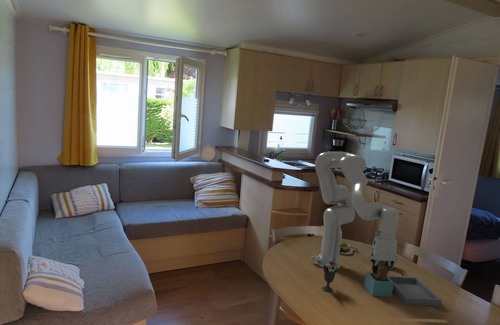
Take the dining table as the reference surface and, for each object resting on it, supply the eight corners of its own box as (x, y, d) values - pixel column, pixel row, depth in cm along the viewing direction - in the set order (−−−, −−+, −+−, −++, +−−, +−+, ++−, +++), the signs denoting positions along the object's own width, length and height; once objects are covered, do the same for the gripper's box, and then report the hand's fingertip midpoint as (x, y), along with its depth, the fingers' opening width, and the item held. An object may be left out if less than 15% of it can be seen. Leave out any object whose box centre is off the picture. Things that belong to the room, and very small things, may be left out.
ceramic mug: (395, 266, 188) (397, 253, 187) (392, 272, 181) (394, 258, 180) (374, 261, 193) (376, 248, 192) (371, 266, 186) (373, 252, 185)
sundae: (335, 287, 160) (339, 257, 158) (334, 294, 154) (338, 263, 151) (321, 284, 162) (325, 254, 160) (319, 291, 156) (323, 259, 153)
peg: (374, 289, 157) (378, 266, 155) (370, 284, 161) (374, 261, 159) (383, 290, 157) (388, 266, 155) (379, 285, 161) (383, 262, 159)
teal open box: (371, 297, 154) (374, 282, 153) (363, 286, 163) (366, 272, 162) (391, 298, 155) (393, 282, 154) (382, 287, 164) (384, 272, 163)
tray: (404, 305, 150) (406, 298, 149) (384, 282, 170) (385, 275, 169) (440, 307, 151) (441, 299, 151) (415, 283, 171) (416, 276, 170)
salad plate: (357, 247, 211) (358, 240, 211) (357, 259, 195) (358, 251, 194) (325, 241, 217) (326, 234, 216) (322, 251, 200) (323, 244, 199)
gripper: (371, 237, 150) (365, 276, 153) (408, 239, 152) (401, 278, 155) (364, 230, 157) (358, 268, 161) (400, 232, 159) (393, 269, 162)
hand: (379, 272), depth 158 cm, fingers closed on peg, 4 cm apart
